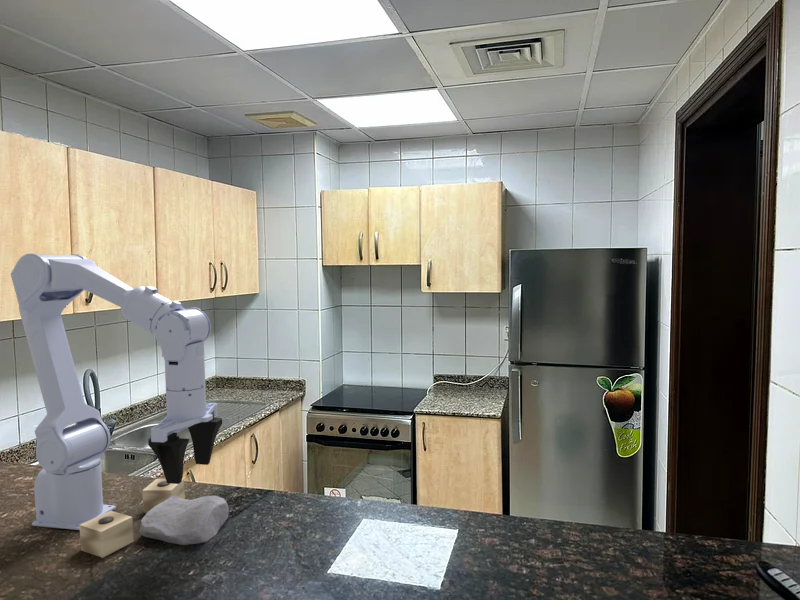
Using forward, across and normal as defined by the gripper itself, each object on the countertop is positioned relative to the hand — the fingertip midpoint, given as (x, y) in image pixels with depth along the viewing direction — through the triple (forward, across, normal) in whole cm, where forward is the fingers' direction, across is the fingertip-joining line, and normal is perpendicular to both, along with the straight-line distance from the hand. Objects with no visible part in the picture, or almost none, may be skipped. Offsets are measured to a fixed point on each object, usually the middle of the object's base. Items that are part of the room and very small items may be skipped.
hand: (189, 472), depth 84 cm
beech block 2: (+10, +7, +10) cm, 16 cm away
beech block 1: (+10, -6, +10) cm, 15 cm away
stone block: (+10, 0, +1) cm, 10 cm away
